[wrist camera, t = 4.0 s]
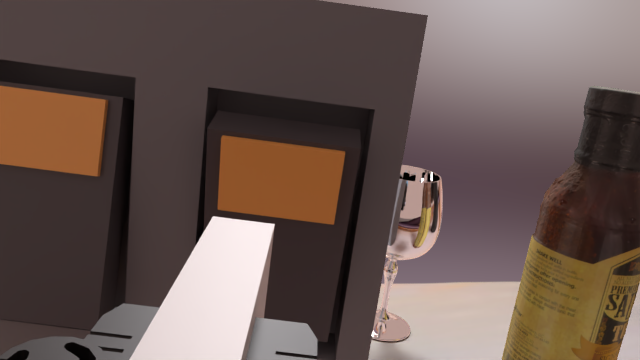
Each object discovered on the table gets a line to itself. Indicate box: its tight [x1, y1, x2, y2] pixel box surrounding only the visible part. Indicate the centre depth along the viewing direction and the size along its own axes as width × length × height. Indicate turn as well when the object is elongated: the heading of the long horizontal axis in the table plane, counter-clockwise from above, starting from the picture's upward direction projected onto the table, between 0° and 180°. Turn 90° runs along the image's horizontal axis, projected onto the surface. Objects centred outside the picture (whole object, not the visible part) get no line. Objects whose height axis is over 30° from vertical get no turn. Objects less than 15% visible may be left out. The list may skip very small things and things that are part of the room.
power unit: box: [0, 0, 428, 360], centre depth 29 cm, size 20×8×22 cm, turn 89°
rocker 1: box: [0, 81, 135, 330], centre depth 25 cm, size 6×2×10 cm, turn 89°
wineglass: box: [372, 165, 442, 341], centre depth 41 cm, size 6×6×12 cm
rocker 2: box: [203, 111, 361, 342], centre depth 25 cm, size 6×2×10 cm, turn 89°
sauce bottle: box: [502, 86, 640, 360], centre depth 34 cm, size 7×6×20 cm
